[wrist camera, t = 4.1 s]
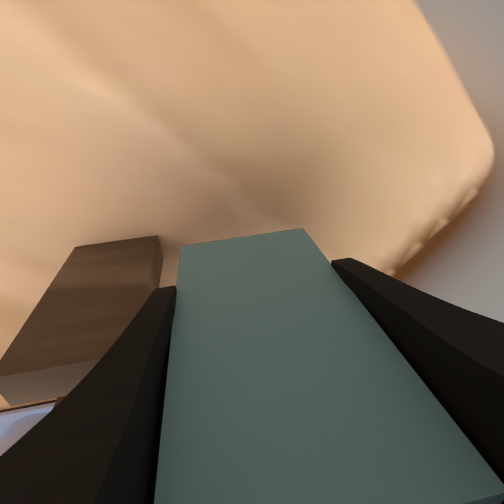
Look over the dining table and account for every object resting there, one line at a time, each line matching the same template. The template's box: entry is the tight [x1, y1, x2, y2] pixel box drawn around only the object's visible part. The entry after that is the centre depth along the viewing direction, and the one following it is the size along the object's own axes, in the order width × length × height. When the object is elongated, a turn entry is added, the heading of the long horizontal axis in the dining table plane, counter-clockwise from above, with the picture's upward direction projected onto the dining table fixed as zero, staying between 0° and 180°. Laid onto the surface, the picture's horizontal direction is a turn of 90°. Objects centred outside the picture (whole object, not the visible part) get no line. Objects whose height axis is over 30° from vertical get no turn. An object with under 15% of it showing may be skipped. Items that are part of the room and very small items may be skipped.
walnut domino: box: [0, 236, 163, 406], centre depth 15 cm, size 2×5×9 cm, turn 95°
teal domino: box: [154, 228, 504, 504], centre depth 8 cm, size 2×5×9 cm, turn 95°
